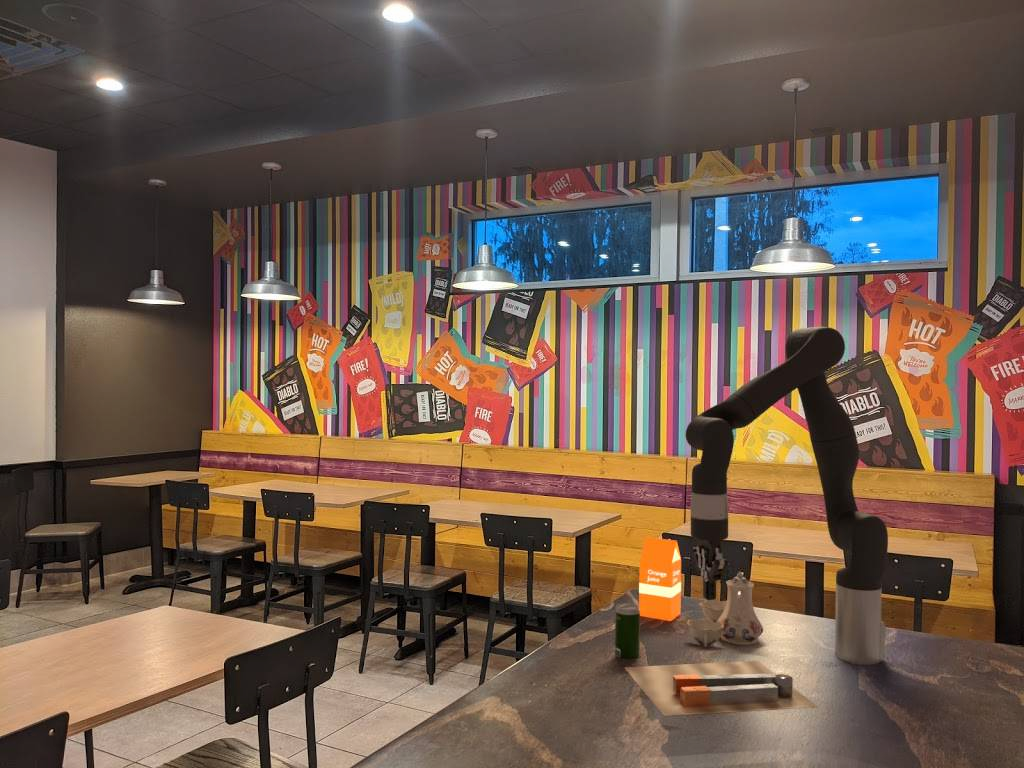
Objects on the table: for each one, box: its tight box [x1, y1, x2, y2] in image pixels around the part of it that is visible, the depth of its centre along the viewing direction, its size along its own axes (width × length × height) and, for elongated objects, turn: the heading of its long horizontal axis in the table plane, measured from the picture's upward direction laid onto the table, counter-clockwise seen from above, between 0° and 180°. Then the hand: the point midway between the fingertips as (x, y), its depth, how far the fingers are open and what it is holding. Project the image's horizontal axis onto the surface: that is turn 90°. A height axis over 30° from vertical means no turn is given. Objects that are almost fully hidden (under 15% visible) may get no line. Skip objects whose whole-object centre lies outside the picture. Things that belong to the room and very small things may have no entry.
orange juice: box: [638, 536, 682, 622], centre depth 209 cm, size 8×9×20 cm
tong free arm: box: [673, 673, 794, 697], centre depth 152 cm, size 23×4×3 cm, turn 95°
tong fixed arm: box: [681, 684, 778, 708], centre depth 149 cm, size 18×2×3 cm, turn 99°
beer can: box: [614, 603, 641, 660], centre depth 175 cm, size 5×5×12 cm
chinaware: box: [687, 571, 764, 648], centre depth 192 cm, size 28×17×17 cm, turn 162°
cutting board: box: [623, 660, 819, 717], centre depth 158 cm, size 30×24×2 cm
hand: (709, 598), depth 163 cm, fingers closed
